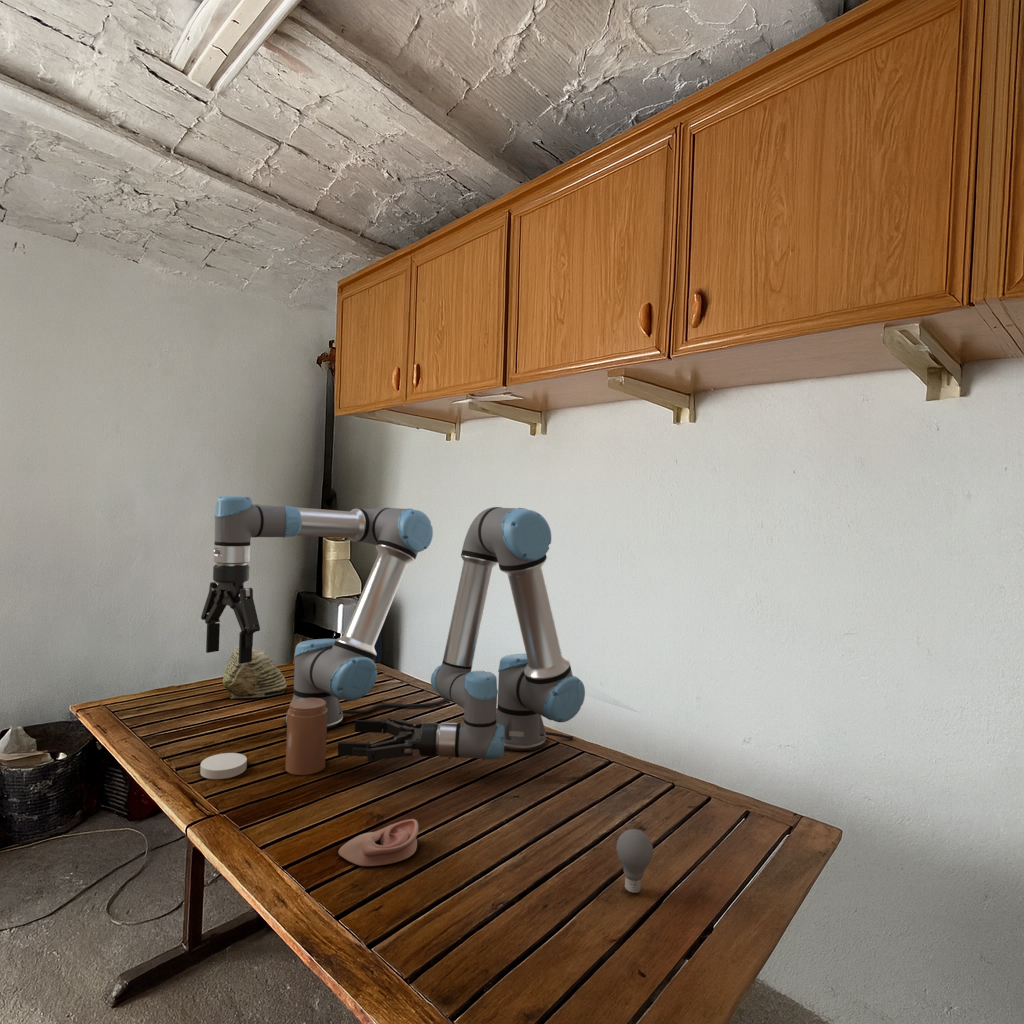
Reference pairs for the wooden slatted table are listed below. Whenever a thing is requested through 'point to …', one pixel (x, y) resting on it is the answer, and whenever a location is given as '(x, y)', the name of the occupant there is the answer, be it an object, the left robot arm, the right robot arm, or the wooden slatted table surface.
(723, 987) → the wooden slatted table surface
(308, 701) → the jar
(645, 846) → the light bulb
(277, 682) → the fossil
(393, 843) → the anatomical model
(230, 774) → the lid
